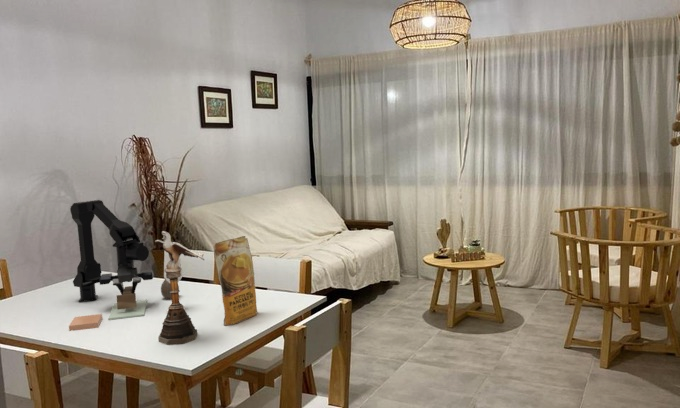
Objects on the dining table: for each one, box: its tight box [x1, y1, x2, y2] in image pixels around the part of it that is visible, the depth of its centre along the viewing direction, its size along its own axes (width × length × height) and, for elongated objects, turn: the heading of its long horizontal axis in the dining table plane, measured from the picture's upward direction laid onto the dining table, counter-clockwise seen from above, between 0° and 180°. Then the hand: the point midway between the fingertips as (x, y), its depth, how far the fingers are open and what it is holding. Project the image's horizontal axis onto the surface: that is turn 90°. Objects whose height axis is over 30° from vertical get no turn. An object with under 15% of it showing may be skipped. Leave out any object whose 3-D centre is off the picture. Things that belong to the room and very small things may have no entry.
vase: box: [160, 278, 180, 300], centre depth 222 cm, size 7×7×9 cm
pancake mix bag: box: [213, 235, 258, 326], centre depth 191 cm, size 7×19×28 cm, turn 146°
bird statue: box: [154, 230, 205, 346], centre depth 176 cm, size 17×13×35 cm
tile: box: [68, 313, 103, 331], centre depth 193 cm, size 2×9×10 cm
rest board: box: [108, 299, 148, 321], centre depth 208 cm, size 20×12×1 cm, turn 17°
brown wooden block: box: [116, 285, 137, 309], centre depth 209 cm, size 13×6×5 cm, turn 17°
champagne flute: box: [163, 249, 186, 313], centre depth 205 cm, size 7×7×24 cm
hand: (128, 299), depth 211 cm, fingers closed on brown wooden block, 3 cm apart
